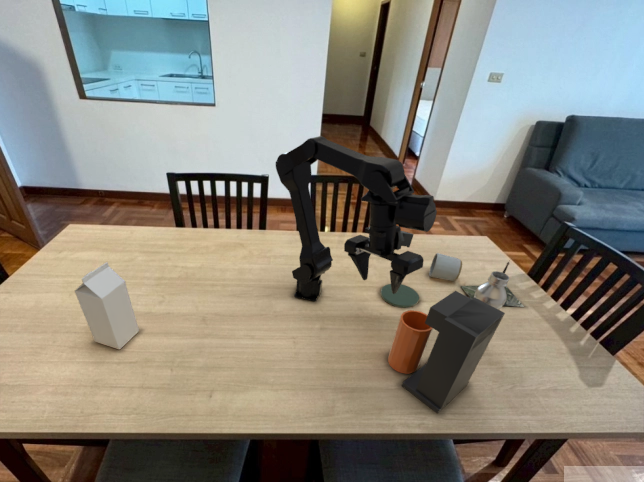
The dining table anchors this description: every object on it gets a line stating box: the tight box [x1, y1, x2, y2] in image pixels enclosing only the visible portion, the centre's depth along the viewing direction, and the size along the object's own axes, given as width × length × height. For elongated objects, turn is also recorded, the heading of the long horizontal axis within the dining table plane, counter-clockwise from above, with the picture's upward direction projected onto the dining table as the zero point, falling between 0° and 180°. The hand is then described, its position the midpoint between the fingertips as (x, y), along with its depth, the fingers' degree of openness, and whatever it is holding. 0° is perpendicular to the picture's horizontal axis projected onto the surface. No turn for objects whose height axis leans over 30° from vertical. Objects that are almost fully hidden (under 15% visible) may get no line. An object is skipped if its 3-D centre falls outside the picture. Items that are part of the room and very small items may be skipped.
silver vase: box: [460, 259, 525, 308], centre depth 102 cm, size 15×10×13 cm
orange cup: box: [387, 309, 434, 375], centre depth 79 cm, size 7×7×13 cm
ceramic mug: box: [428, 252, 463, 282], centre depth 113 cm, size 11×8×8 cm
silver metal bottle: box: [474, 270, 510, 311], centre depth 84 cm, size 6×7×20 cm
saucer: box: [380, 283, 420, 309], centre depth 104 cm, size 11×11×1 cm
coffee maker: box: [401, 290, 506, 414], centre depth 72 cm, size 10×12×21 cm
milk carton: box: [74, 261, 140, 350], centre depth 79 cm, size 7×7×19 cm
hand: (379, 286), depth 84 cm, fingers open, 9 cm apart
